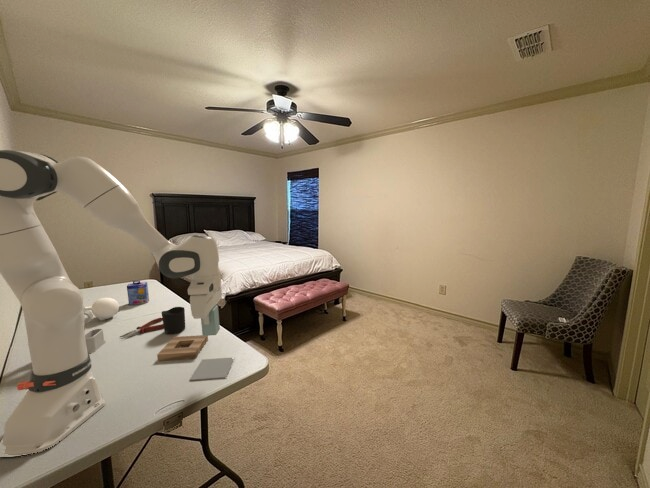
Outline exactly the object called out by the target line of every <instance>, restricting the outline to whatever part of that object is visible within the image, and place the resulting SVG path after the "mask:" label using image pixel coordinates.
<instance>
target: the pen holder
mask: <svg viewBox="0 0 650 488" xmlns="http://www.w3.org/2000/svg"><path fill="white" fill-rule="evenodd" d="M161 318H162V319H163V321H162V324H163V326H164V328H163V331H164V333H165V334H167V335H177V334H180V333H182V332H183V331H185V329H186V313H185V307H184V306H173V307H172V308H169V309H168V310H162V311H161Z"/></svg>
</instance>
